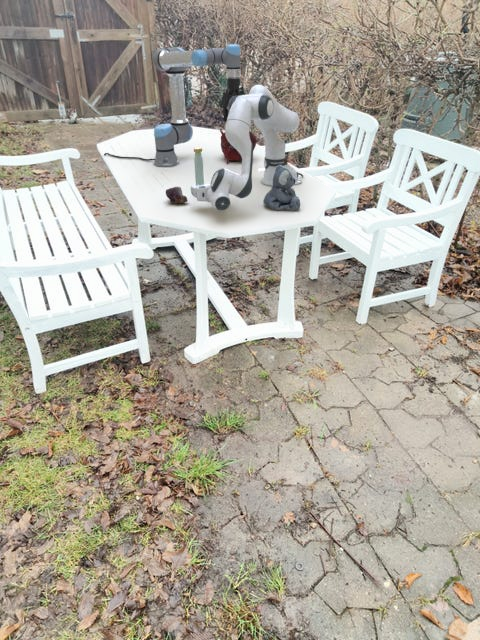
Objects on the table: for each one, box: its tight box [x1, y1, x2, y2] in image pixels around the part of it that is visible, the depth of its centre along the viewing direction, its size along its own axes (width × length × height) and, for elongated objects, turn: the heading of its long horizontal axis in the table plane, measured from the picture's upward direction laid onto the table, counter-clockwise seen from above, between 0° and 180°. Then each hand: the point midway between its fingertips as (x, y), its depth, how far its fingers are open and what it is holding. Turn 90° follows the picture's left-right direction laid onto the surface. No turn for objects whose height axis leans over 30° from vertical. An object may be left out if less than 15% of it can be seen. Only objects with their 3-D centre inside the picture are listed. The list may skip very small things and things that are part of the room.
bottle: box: [193, 152, 205, 185], centre depth 244 cm, size 5×5×22 cm
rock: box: [165, 186, 188, 204], centre depth 232 cm, size 12×9×10 cm
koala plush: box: [263, 165, 301, 211], centre depth 223 cm, size 17×18×20 cm
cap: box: [193, 146, 203, 153], centre depth 238 cm, size 4×4×2 cm
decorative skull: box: [219, 129, 257, 164], centre depth 297 cm, size 21×24×25 cm
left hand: (234, 119), depth 258 cm, fingers open, 13 cm apart
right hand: (208, 184), depth 228 cm, fingers open, 8 cm apart
